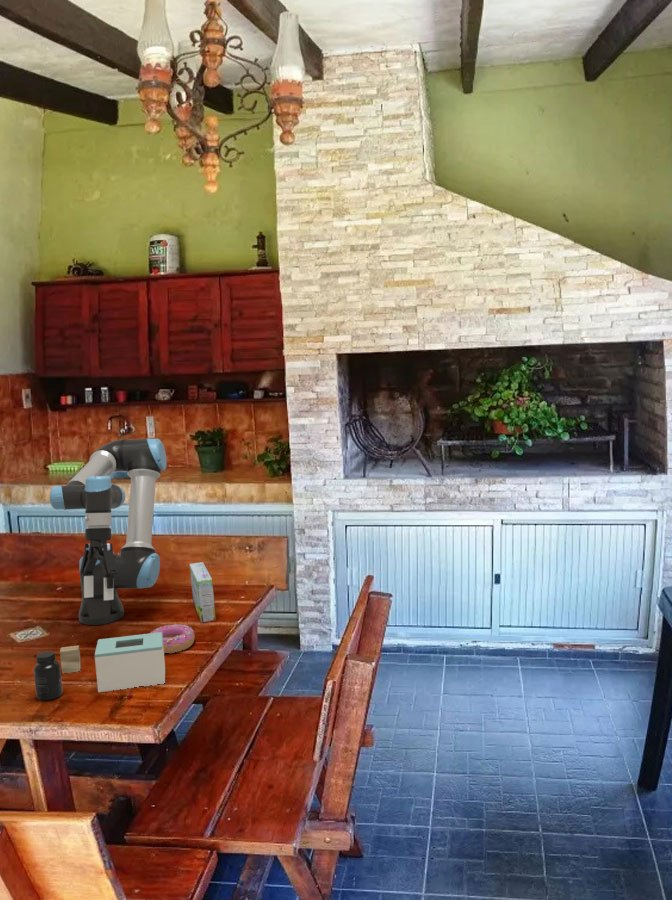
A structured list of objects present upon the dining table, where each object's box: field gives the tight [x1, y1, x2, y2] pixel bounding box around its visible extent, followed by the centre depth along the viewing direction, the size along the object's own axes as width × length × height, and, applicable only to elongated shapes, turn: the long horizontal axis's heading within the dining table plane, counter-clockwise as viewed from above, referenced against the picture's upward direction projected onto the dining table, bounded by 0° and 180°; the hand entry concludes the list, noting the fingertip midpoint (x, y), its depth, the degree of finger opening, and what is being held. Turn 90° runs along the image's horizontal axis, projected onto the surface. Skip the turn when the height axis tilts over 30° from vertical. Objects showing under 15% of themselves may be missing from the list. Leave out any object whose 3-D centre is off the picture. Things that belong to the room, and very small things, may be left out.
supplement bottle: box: [33, 650, 64, 702], centre depth 213 cm, size 7×7×12 cm
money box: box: [94, 632, 166, 693], centre depth 221 cm, size 11×18×11 cm, turn 102°
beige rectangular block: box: [59, 645, 82, 675], centre depth 229 cm, size 3×5×7 cm, turn 102°
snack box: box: [188, 561, 217, 624], centre depth 272 cm, size 21×6×15 cm, turn 18°
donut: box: [150, 623, 196, 655], centre depth 245 cm, size 14×14×5 cm
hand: (98, 598), depth 233 cm, fingers open, 13 cm apart
